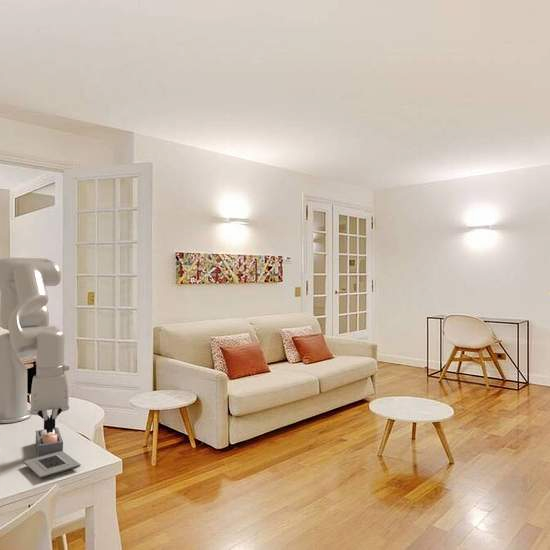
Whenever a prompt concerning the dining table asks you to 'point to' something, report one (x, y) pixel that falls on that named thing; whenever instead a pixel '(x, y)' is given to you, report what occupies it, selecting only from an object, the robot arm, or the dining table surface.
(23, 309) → the robot arm
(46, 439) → the pink button
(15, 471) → the dining table surface
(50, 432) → the white button
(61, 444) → the button console
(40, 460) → the electrical outlet
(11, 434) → the dining table surface
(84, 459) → the dining table surface
